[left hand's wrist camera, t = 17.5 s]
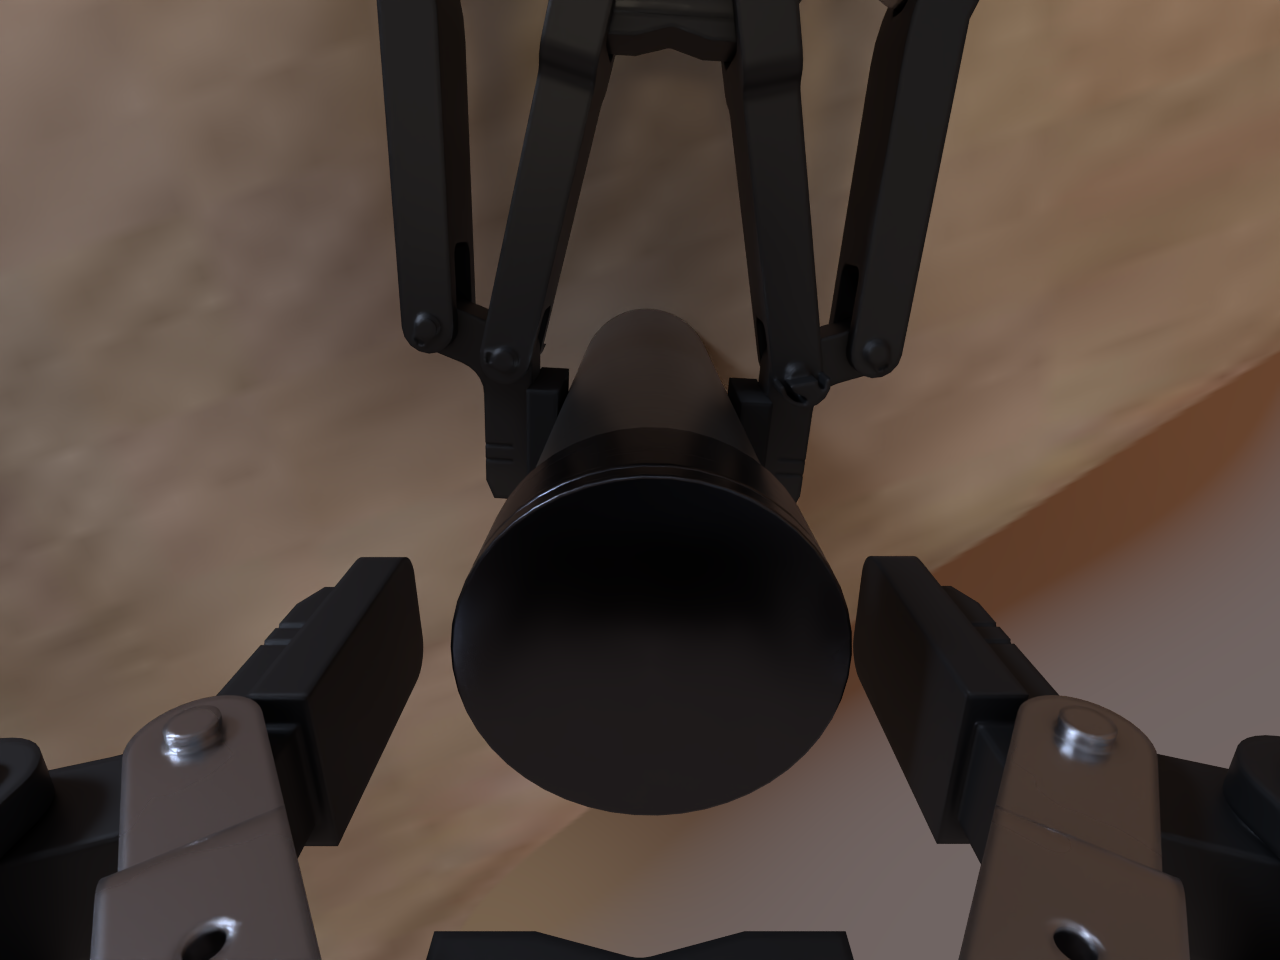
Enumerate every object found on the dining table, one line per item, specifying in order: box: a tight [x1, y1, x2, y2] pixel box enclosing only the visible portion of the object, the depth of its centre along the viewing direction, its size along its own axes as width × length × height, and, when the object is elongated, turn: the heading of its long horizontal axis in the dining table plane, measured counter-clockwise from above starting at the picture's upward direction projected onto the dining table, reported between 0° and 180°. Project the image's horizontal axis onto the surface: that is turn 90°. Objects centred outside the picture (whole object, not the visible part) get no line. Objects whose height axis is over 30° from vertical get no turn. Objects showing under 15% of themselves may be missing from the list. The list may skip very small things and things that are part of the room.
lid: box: [451, 427, 852, 815], centre depth 9 cm, size 5×5×2 cm
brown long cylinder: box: [536, 309, 760, 467], centre depth 17 cm, size 4×4×16 cm
